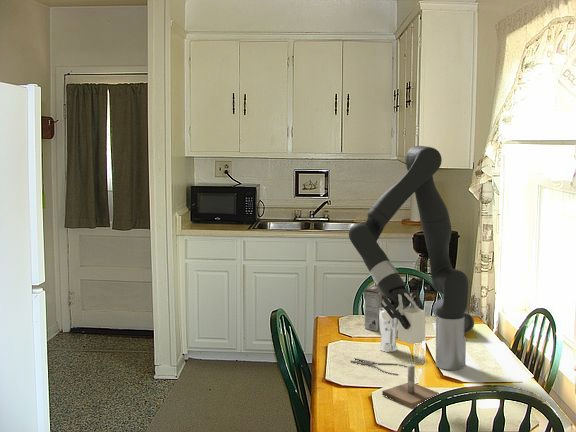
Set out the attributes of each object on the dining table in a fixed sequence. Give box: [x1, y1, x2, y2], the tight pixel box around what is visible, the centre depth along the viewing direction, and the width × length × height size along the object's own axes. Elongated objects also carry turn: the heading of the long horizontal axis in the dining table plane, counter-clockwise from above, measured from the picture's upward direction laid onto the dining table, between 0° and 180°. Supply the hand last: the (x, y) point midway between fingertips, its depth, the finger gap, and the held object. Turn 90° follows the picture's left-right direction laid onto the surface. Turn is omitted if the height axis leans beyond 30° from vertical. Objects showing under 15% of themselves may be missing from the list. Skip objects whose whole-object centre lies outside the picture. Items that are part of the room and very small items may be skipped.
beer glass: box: [379, 307, 398, 353], centre depth 251 cm, size 7×7×15 cm
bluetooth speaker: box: [432, 298, 475, 335], centre depth 275 cm, size 23×9×10 cm, turn 9°
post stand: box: [381, 364, 440, 409], centre depth 207 cm, size 12×12×10 cm
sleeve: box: [397, 307, 426, 345], centre depth 205 cm, size 6×6×9 cm
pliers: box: [350, 357, 409, 376], centre depth 233 cm, size 10×1×20 cm
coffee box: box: [364, 284, 385, 332], centre depth 278 cm, size 9×6×16 cm
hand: (415, 325), depth 203 cm, fingers closed on sleeve, 5 cm apart
